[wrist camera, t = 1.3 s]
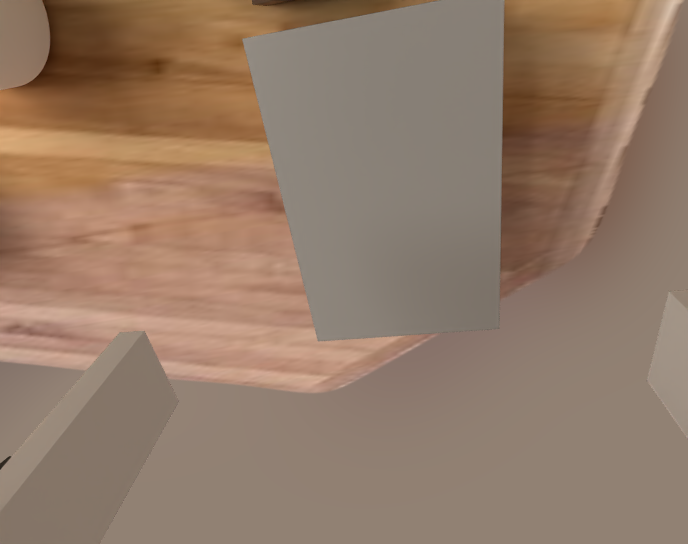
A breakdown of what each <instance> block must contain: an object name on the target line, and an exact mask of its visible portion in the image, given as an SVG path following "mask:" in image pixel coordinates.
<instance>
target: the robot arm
mask: <svg viewBox="0 0 688 544" xmlns="http://www.w3.org/2000/svg"><path fill="white" fill-rule="evenodd" d="M647 381H648V383H649V384H650V386H651V387H652V389H653V390H654V391H655V393H656V394H657V396H658V397H659V398H660V400H661V402H662V403H663V404H664V406H665V407H666V408H667V410H668V411H669V413H670V414H671V416H672V417H673V418H674V420H675V421H676V423H677V425H678V426H679V427H680V429H681V430H682V431H683V433H684V435H685V436H686V437H687V439H688V290H678V291H669V293H668V297H667V301H666V305H665V309H664V313H663V317H662V321H661V326H660V330H659V334H658V338H657V342H656V346H655V350H654V355H653V358H652V362H651V366H650V370H649V375H648V378H647ZM178 402H179V400H178V398H177V396H176V394H175V392H174V390H173V388H172V386H171V384H170V382H169V380H168V378H167V376H166V374H165V372H164V370H163V368H162V366H161V364H160V362H159V360H158V358H157V356H156V353H155V351H154V349H153V347H152V345H151V343H150V341H149V339H148V337H147V335H146V333H145V331H134V332H120V333H119V334H118V335H117V336H116V337H115V338H114V340H113V341H112V342H111V343H110V344H109V345H108V346H107V348H106V349H105V350H104V351H103V352H102V353H101V355H100V356H99V357H98V358H97V359H96V360H95V361H94V363H93V364H92V365H91V366H90V367H89V368H88V369H87V371H86V372H85V373H84V374H83V375H82V376H81V378H80V379H79V380H78V381H77V382H76V383H75V384H74V386H73V387H72V388H71V389H70V390H69V391H68V393H67V394H66V395H65V396H64V397H63V398H62V399H61V401H60V402H59V403H58V404H57V405H56V406H55V407H54V409H53V410H52V411H51V412H50V413H49V415H48V416H47V417H46V418H45V419H44V420H43V421H42V422H41V424H40V425H39V426H38V427H37V428H36V429H35V431H34V432H33V433H32V434H31V435H30V436H29V437H28V439H27V440H26V441H25V442H24V443H23V444H22V445H21V447H20V448H19V449H18V450H17V451H16V453H15V454H14V455H13V456H9V457H8V458H7V459H5V460H4V461H3V462H2V463H0V544H100V542H101V540H102V539H103V537H104V535H105V533H106V531H107V530H108V528H109V526H110V524H111V522H112V521H113V519H114V517H115V515H116V513H117V512H118V510H119V508H120V506H121V504H122V503H123V501H124V499H125V497H126V496H127V494H128V492H129V490H130V488H131V487H132V485H133V483H134V481H135V479H136V478H137V476H138V474H139V472H140V470H141V469H142V467H143V465H144V463H145V462H146V460H147V458H148V456H149V454H150V453H151V451H152V449H153V447H154V445H155V443H156V442H157V440H158V438H159V436H160V435H161V433H162V431H163V429H164V427H165V426H166V424H167V422H168V420H169V418H170V417H171V415H172V413H173V411H174V410H175V408H176V406H177V404H178Z"/></svg>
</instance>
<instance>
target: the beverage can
mask: <svg viewBox="0 0 688 544" xmlns="http://www.w3.org/2000/svg"><path fill="white" fill-rule="evenodd" d="M49 49H50V28H49V22H48V17H47V13H46V10H45V7H44V4H43V1H42V0H0V90H4V89H9V88H14V87H18V86H22V85H25V84H27V83H29V82H30V81H32V80H33V79H34V78H36V77H37V76H38V74H39V73H40V72H41V71H42V69H43V67H44V65H45V63H46V61H47V58H48V54H49Z"/></svg>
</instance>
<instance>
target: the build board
mask: <svg viewBox="0 0 688 544" xmlns="http://www.w3.org/2000/svg"><path fill="white" fill-rule="evenodd" d="M286 1H291V0H252V4H253V5H263V6H267V5H271V4H276V3H281V2H286Z"/></svg>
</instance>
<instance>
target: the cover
mask: <svg viewBox="0 0 688 544" xmlns="http://www.w3.org/2000/svg"><path fill="white" fill-rule="evenodd" d="M242 40H243V44H244V48H245V52H246V56H247V60H248V64H249V68H250V72H251V76H252V80H253V84H254V88H255V92H256V96H257V100H258V104H259V108H260V112H261V116H262V120H263V124H264V128H265V132H266V136H267V140H268V143H269V147H270V151H271V155H272V159H273V163H274V167H275V171H276V175H277V179H278V183H279V187H280V191H281V195H282V199H283V203H284V207H285V211H286V215H287V219H288V223H289V227H290V231H291V235H292V239H293V243H294V247H295V251H296V255H297V259H298V263H299V267H300V271H301V275H302V279H303V283H304V287H305V291H306V295H307V299H308V303H309V307H310V311H311V315H312V319H313V323H314V327H315V331H316V335H317V339H318V341H332V340H346V339H361V338H375V337H390V336H404V335H419V334H433V333H448V332H463V331H477V330H492V329H499V321H500V318H499V317H500V316H499V315H500V255H501V189H502V123H503V56H504V0H439V1H434V2H429V3H423V4H418V5H413V6H408V7H403V8H398V9H393V10H387V11H382V12H377V13H372V14H367V15H362V16H357V17H352V18H346V19H341V20H336V21H331V22H326V23H321V24H316V25H311V26H305V27H300V28H295V29H290V30H285V31H280V32H275V33H270V34H264V35H259V36H254V37H249V38H244V39H242Z"/></svg>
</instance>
